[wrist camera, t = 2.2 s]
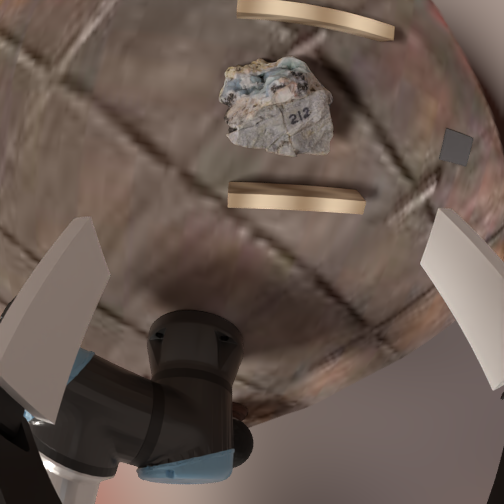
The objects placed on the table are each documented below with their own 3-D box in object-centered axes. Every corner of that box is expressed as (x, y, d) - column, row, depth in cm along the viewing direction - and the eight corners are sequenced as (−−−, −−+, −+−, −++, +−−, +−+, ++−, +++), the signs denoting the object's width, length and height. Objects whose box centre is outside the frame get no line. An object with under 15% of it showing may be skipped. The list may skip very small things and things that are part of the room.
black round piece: (189, 415, 63) (186, 469, 50) (204, 395, 56) (201, 459, 44) (239, 423, 66) (241, 474, 54) (260, 404, 59) (265, 464, 47)
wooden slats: (228, 194, 30) (227, 207, 28) (237, 4, 19) (237, -3, 17) (353, 201, 31) (362, 214, 29) (380, 28, 20) (394, 26, 18)
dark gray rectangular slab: (439, 158, 28) (439, 159, 28) (446, 128, 26) (447, 128, 26) (465, 166, 29) (466, 166, 28) (472, 137, 26) (473, 138, 26)
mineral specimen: (276, 73, 27) (238, 151, 30) (232, 33, 21) (184, 126, 23) (357, 91, 23) (315, 183, 25) (328, 40, 16) (272, 157, 19)
